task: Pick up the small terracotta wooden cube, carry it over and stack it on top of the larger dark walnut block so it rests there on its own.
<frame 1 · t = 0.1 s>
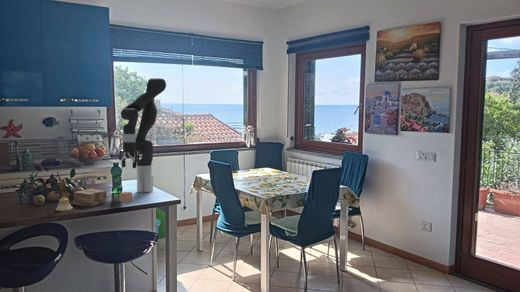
hand: (128, 167, 255), 17 cm above the breakfast bar, tool pointing down, fingers open, 8 cm apart
terracotta cube: (125, 201, 241), on the breakfast bar
walnut block: (90, 203, 235), on the breakfast bar
hand bell: (64, 209, 221), on the breakfast bar
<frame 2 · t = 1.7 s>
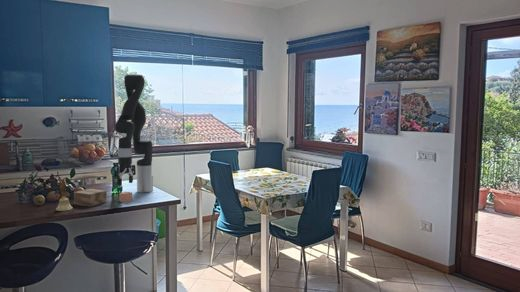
hand: (125, 183, 240), 10 cm above the breakfast bar, tool pointing down, fingers open, 8 cm apart
nothing on the breakfast bar moved.
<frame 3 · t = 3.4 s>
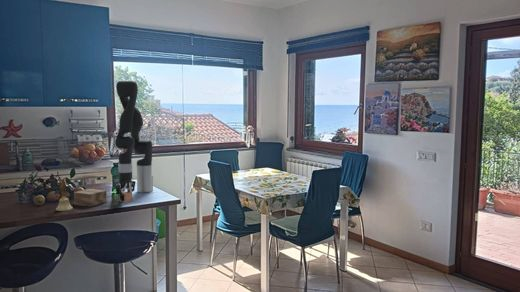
hand: (125, 199, 241), 1 cm above the breakfast bar, tool pointing down, fingers closed on terracotta cube, 5 cm apart
terracotta cube: (125, 201, 241), on the breakfast bar, touching gripper
everything else where it was.
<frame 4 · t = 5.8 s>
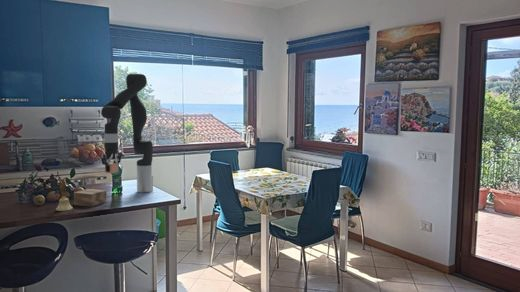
hand: (111, 171, 236), 18 cm above the breakfast bar, tool pointing down, fingers closed on terracotta cube, 5 cm apart
terracotta cube: (111, 172, 236), point 17 cm above the breakfast bar, touching gripper
everything else where it was.
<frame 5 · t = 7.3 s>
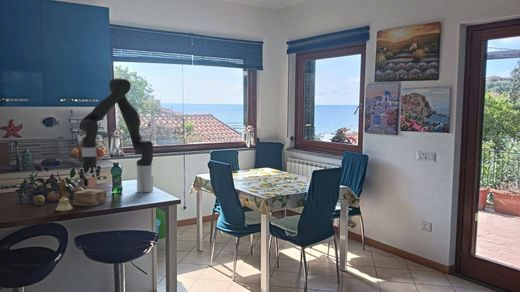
hand: (89, 185, 234), 10 cm above the breakfast bar, tool pointing down, fingers closed on terracotta cube, 5 cm apart
terracotta cube: (90, 186, 234), point 10 cm above the breakfast bar, touching gripper
everything else where it was.
when the fingers open (9 cm above the breakfast bar, at t = 8.3 s): terracotta cube drops 2 cm, resting on walnut block.
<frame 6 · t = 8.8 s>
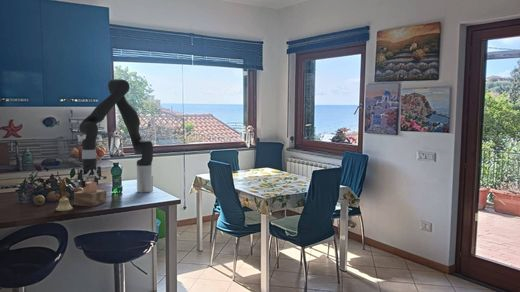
hand: (89, 186, 234), 10 cm above the breakfast bar, tool pointing down, fingers open, 8 cm apart
terracotta cube: (90, 191, 234), point 7 cm above the breakfast bar, touching walnut block
walnut block: (90, 203, 235), on the breakfast bar, touching terracotta cube
everything else where it was.
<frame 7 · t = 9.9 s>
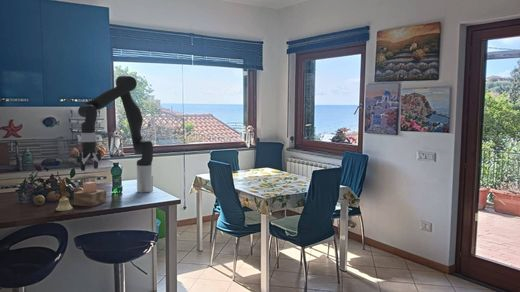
hand: (89, 169, 233), 19 cm above the breakfast bar, tool pointing down, fingers open, 8 cm apart
terracotta cube: (90, 191, 234), point 7 cm above the breakfast bar
walnut block: (90, 203, 235), on the breakfast bar
everything else where it was.
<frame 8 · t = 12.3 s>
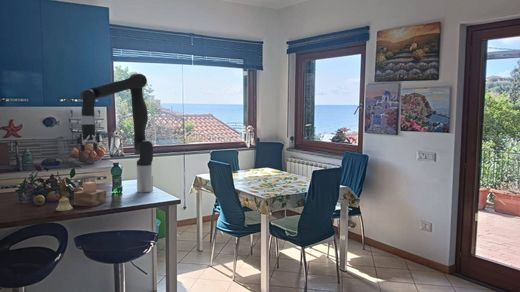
hand: (88, 150, 246), 28 cm above the breakfast bar, tool pointing down, fingers open, 8 cm apart
nothing on the breakfast bar moved.
at the end: terracotta cube inside the target area on the walnut block (0.3 cm from its centre), point 7.0 cm above the walnut block's base; terracotta cube tilted 0°; the gripper is holding nothing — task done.
